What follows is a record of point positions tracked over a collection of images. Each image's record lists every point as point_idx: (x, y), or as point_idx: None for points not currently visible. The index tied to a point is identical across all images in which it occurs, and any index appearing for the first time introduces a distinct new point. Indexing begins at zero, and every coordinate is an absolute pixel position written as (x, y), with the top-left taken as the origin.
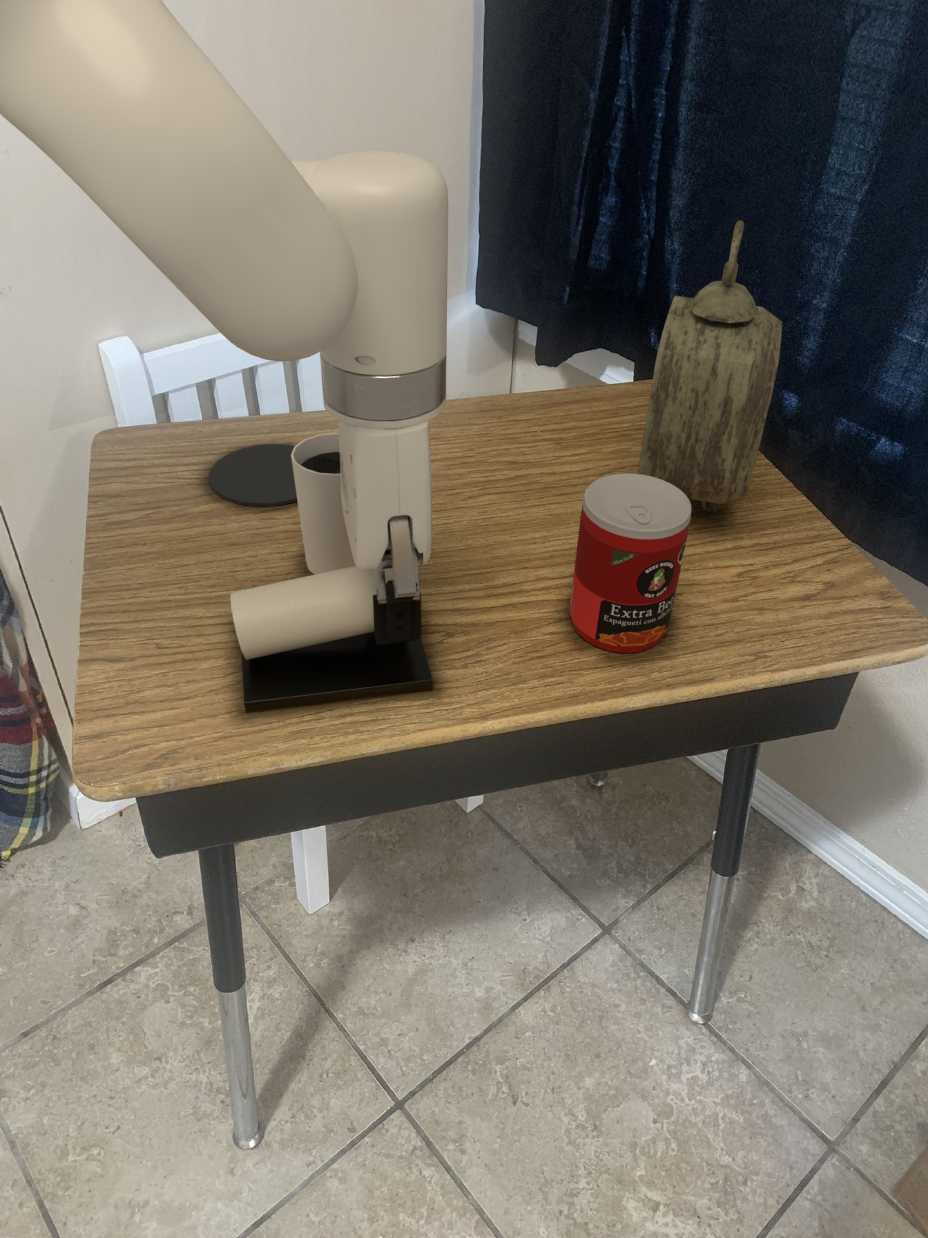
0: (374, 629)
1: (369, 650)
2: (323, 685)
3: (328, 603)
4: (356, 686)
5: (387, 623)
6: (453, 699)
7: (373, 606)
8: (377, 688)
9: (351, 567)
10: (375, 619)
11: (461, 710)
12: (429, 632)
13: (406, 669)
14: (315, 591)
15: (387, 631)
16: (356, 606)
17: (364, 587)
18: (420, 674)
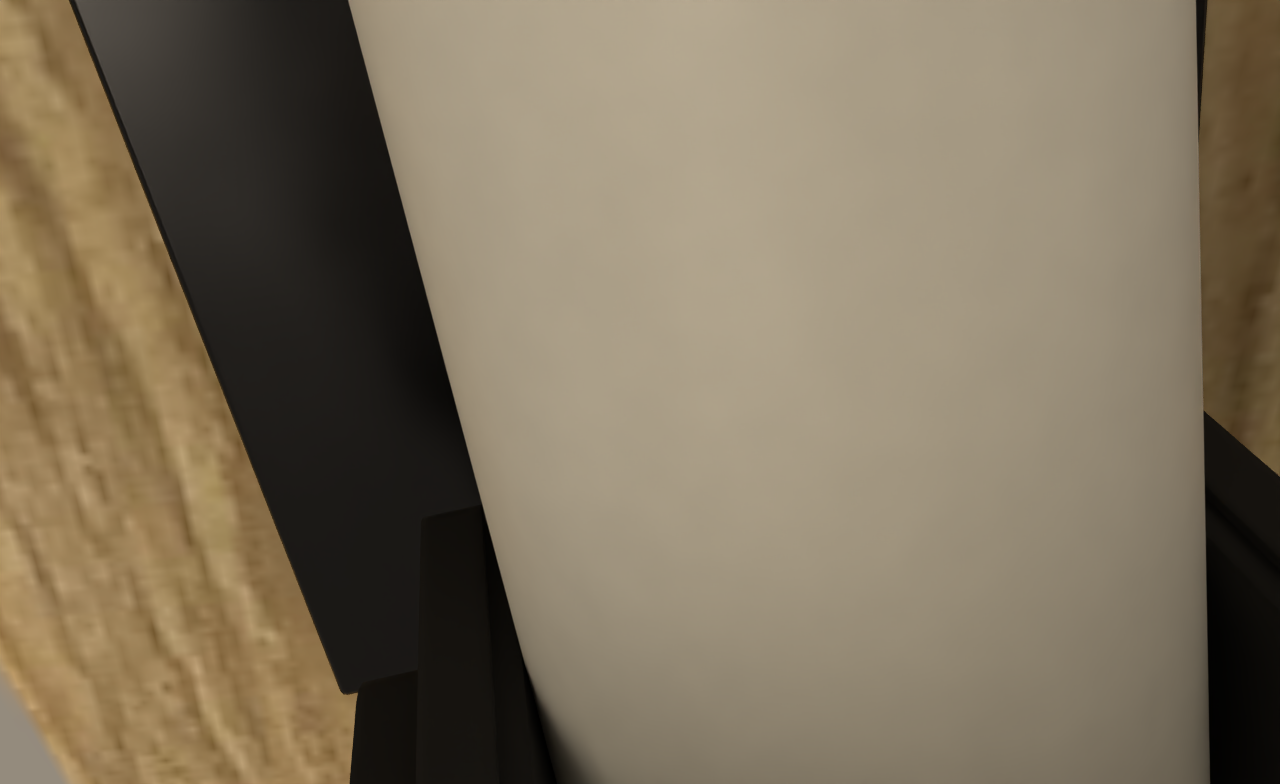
0: (469, 567)
1: None
2: (168, 16)
3: (527, 297)
4: (207, 267)
5: (379, 774)
6: (286, 734)
7: (469, 764)
8: (226, 398)
9: (1109, 574)
10: (421, 687)
11: (201, 774)
12: None
13: None
14: (683, 148)
15: (401, 692)
16: (530, 570)
17: (699, 738)
18: (382, 635)
